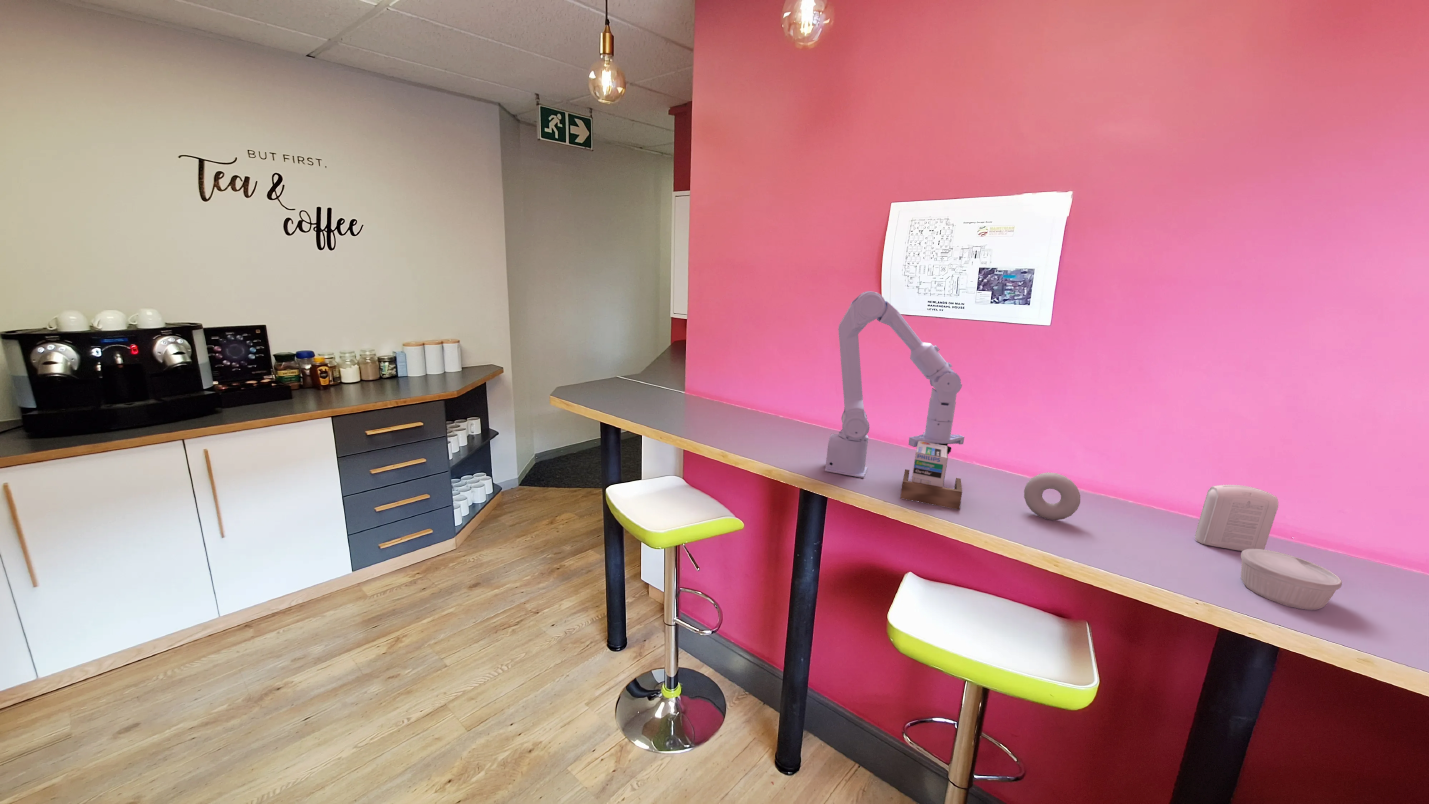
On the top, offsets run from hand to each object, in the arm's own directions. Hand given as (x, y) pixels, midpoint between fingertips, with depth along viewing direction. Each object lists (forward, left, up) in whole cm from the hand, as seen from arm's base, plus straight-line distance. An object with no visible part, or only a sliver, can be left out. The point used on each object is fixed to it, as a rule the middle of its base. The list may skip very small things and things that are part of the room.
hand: (931, 473), depth 131 cm
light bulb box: (-1, -10, -2) cm, 10 cm away
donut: (+23, -12, -2) cm, 26 cm away
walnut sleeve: (0, -11, -2) cm, 11 cm away
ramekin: (+54, -27, -2) cm, 60 cm away
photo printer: (+54, -9, -2) cm, 55 cm away
